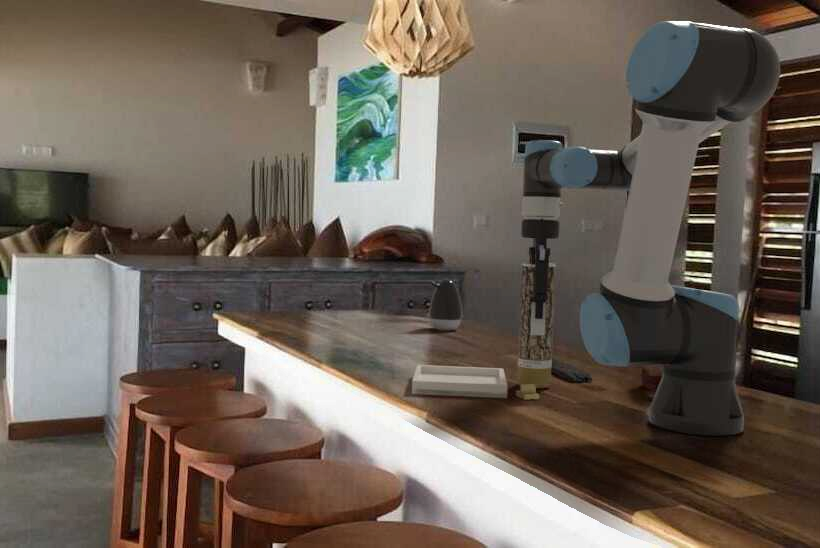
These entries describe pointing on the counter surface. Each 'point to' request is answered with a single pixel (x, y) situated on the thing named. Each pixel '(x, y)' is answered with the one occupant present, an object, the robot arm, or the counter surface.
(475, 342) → the counter surface
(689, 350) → the robot arm
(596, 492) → the counter surface
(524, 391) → the tan short block
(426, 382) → the ceramic dish
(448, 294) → the pump dispenser
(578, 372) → the wood
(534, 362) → the paper tube
